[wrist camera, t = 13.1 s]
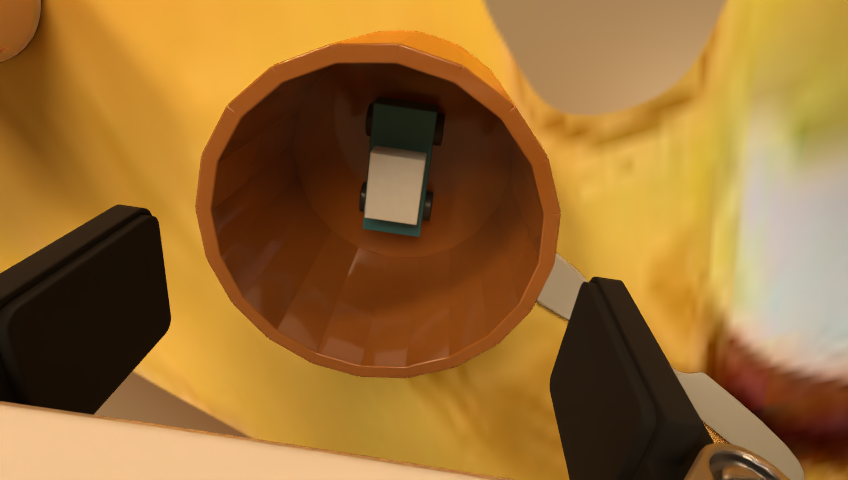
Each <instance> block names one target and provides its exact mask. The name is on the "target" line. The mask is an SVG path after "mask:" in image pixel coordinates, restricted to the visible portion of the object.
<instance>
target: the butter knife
mask: <svg viewBox="0 0 848 480" xmlns="http://www.w3.org/2000/svg"><path fill="white" fill-rule="evenodd" d="M583 282H588V281H587V280H586V279H585V278H584V276H583V275H582V274H581V273H580V272H579V271H578V270H577V269H576V268H575V267H573V266H572V265H571V264H570V263H568V262H567V261H566V260H565V259H564V258H562V257H561V256H560V255H559V254H558V253H556V256H555V264H554V267H553V269H552V271H551V273H550V275H549V277H548V279H547V281H546V283H545V285H544V287H543V289H542V291H541V293H540V295H539V297H538V299H537V301H538V302H539V303H540V304H541V305H543V306H545V307H546V308H548V309H550V310H551V311H553V312H555V313H557V314H558V315H560V316H562V317H563V318H565V319H567V320H569V319H570V316H571V313H572V310H573V307H574V304H575V301H576V298H577V295H578V292H579V289H580V287H581V284H582V283H583ZM670 366H671V365H670ZM671 367H672V366H671ZM672 369H673V371H674V373H675V374H676V376H677V378H678V380H679V381H680V383H681V385H682V387H683V388H684V390H685V392H686V394H687V395H688V397H689V399H690V401H691V402H692V404H693V406H694V408H695V409H696V411H697V413H698V415H699V416H700V418H701V420H702V421H704V422H705V423H706V424H707V425H709V426H710V427H711V428H712V429H713V430H715V431H716V432H717V433H718V434H720V435H721V436H722V437H723V438H724V439H726V440H727V441H728V442H729V443H731V444H733V445H736V446H739V447H742V448H745V449H747V450H749V451H751V452H753V453H755V454H757V455H759V456H761V457H763V458H764V459H766V460H767V461H768V462H770V463H771V464H773V465H774V466H776V467H777V468H778V469H779V470H780V471H781V472H782V473H783V474H784V475H786V476H787V477H788V478H789V479H790V480H805V477H804V471H803V469H802V467H801V465H800V463H799V461H798V460H797V458H796V457H795V456H794V455H793V453H792V452H791V451H790V450H789V448H788V447H787V446H786V445H785V444H784V443H783V442H782V441H781V440H780V439H779V438H778V437H777V436H776V435H775V434H774V433H773V432H772V431H771V430H770V429H769V428H768V427H767V426H766V425H765V424H764V423H763V422H762V421H761V420H760V419H758V418H757V417H756V416H755V415H754V414H753V413H751V412H750V411H749V410H748V409H747V408H746V407H745V406H743V405H742V404H741V403H740V402H739V401H738V400H737V399H735V398H734V397H733V396H732V395H731V394H729V393H728V392H727V391H726V390H724V389H723V388H722V387H721V386H720V385H718V384H717V383H716V382H715V381H714V380H712V379H711V378H710V377H709V376H707V375H706V374H705V373H701V372H698V373H692V374H688V373H683V372H680V371H678V370H676V369H675V368H673V367H672Z"/></svg>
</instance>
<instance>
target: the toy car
mask: <svg viewBox="0 0 848 480" xmlns="http://www.w3.org/2000/svg"><path fill="white" fill-rule="evenodd" d="M445 116H446V115H445V114H444V113H438V105H434V104H427V103H420V102H414V101H407V100H400V99H393V98H386V97H378V98H377V100H376V101H375V102H374V103H370V104H369V106H368V109H367V115H366V124H365V132H366V135H367V136H370V148H369V159H368V171H367V182H363V184H362V187H361V192H360V198H359V210H360V211H361V212H364V217H363V229H367V230H374V231H381V232H388V233H395V234H402V235H409V236H416V237H419V236H420V232H421V225H422V221H430V216H431V210H432V203H433V195H434V193H433V192H431V191H426V190H427V183H428V176H429V169H430V163H431V156H432V149H433V145H434V146H441V143H442V137H443V131H444V124H445Z"/></svg>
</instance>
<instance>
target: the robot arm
mask: <svg viewBox="0 0 848 480" xmlns="http://www.w3.org/2000/svg"><path fill="white" fill-rule="evenodd" d="M170 322H171V313H170V306H169V298H168V290H167V282H166V275H165V267H164V259H163V251H162V244H161V236H160V228H159V222H158V220H157V218H156V217H154V216H152V214H151V213H150V211H149V210H148V209H145V208H139V207H132V206H126V205H116V206H113V207H112V208H110V209H108V210H107V211H105V212H103V213H102V214H100V215H98V216H97V217H95V218H93V219H92V220H90V221H88V222H86V223H85V224H83V225H81V226H80V227H78V228H76V229H75V230H73V231H71V232H70V233H68V234H66V235H65V236H63V237H61V238H59V239H58V240H56V241H54V242H53V243H51V244H49V245H48V246H46V247H44V248H43V249H41V250H39V251H38V252H36V253H34V254H32V255H31V256H29V257H27V258H26V259H24V260H22V261H21V262H19V263H17V264H16V265H14V266H12V267H11V268H9V269H7V270H5V271H4V272H2V273H0V480H513V479H507V478H501V477H495V476H489V475H482V474H476V473H470V472H463V471H457V470H451V469H445V468H438V467H432V466H426V465H419V464H413V463H407V462H401V461H394V460H388V459H382V458H375V457H369V456H363V455H356V454H350V453H344V452H337V451H331V450H324V449H318V448H311V447H305V446H298V445H292V444H285V443H279V442H272V441H266V440H259V439H252V438H246V437H239V436H232V435H226V434H219V433H213V432H206V431H200V430H193V429H186V428H180V427H173V426H166V425H159V424H153V423H146V422H139V421H132V420H125V419H119V418H112V417H105V416H98V415H94V413H95V412H96V411H97V410H98V409H99V408H100V407H101V406H102V404H103V403H104V402H105V401H106V400H107V399H108V398H109V397H110V396H111V394H112V393H113V392H114V391H115V390H116V389H117V388H118V387H119V385H120V384H121V383H122V382H123V381H124V380H125V379H126V378H127V376H128V375H129V374H130V373H131V372H132V371H133V370H134V369H135V367H136V366H137V365H138V364H139V363H140V362H141V361H142V360H143V358H144V357H145V356H146V355H147V354H148V353H149V352H150V351H151V349H152V348H153V347H154V346H155V345H156V344H157V343H158V342H159V340H160V339H161V338H162V337H163V336H164V335H165V334H166V332H167V331H168V329H169V326H170ZM550 393H551V398H552V402H553V407H554V411H555V416H556V420H557V425H558V429H559V434H560V438H561V442H562V447H563V451H564V456H565V460H566V465H567V469H568V474H569V478H570V480H790V479H789V478H788V477H787V476H786V475H784V474H783V473H782V472H781V471H780V470H779V469H778V468H777V467H776V466H774V465H773V464H771V463H770V462H768V461H767V460H766V459H764V458H763V457H761V456H759V455H757V454H755V453H753V452H751V451H749V450H747V449H745V448H742V447H739V446H736V445H733V444H728V443H714V442H713V440H712V438H711V436H710V435H709V433H708V431H707V429H706V428H705V425H704V424H703V422H702V420H701V418H700V416H699V415H698V413H697V411H696V409H695V408H694V406H693V404H692V402H691V401H690V399H689V397H688V395H687V394H686V392H685V390H684V388H683V387H682V385H681V383H680V381H679V380H678V378H677V376H676V374H675V373H674V371H673V369H672V367H671V366H670V364H669V362H668V360H667V359H666V357H665V355H664V353H663V352H662V350H661V348H660V346H659V345H658V343H657V341H656V339H655V338H654V336H653V334H652V332H651V331H650V329H649V327H648V325H647V324H646V322H645V320H644V318H643V316H642V315H641V313H640V311H639V309H638V308H637V306H636V304H635V302H634V301H633V299H632V297H631V295H630V294H629V292H628V290H627V288H626V287H625V285H624V283H623V282H622V281H620V280H614V279H608V278H601V277H593V278H592V279H591V281H590V282H583V283H582V284H581V287H580V289H579V292H578V295H577V298H576V301H575V304H574V307H573V310H572V313H571V316H570V319H569V322H568V325H567V328H566V331H565V334H564V337H563V340H562V343H561V346H560V350H559V353H558V356H557V359H556V362H555V365H554V368H553V371H552V374H551V378H550Z"/></svg>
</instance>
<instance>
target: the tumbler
mask: <svg viewBox="0 0 848 480" xmlns="http://www.w3.org/2000/svg"><path fill="white" fill-rule="evenodd" d="M378 97H386V98H393V99H400V100H407V101H414V102H420V103H427V104H434V105H438V113H444V114H445V115H446V116H445V124H444V131H443V137H442V143H441V146H434V145H433V149H432V156H431V163H430V169H429V176H428V183H427V190H426V191H431V192H433V193H434V195H433V203H432V210H431V216H430V221H422V225H421V232H420V236H419V237H416V236H409V235H402V234H395V233H388V232H381V231H374V230H367V229H363V217H364V212H361V211H360V210H359V198H360V192H361V187H362V184H363V182H367V171H368V159H369V148H370V136H367V135H366V132H365V124H366V115H367V109H368V106H369V104H370V103H374V102H375V101H376V100H377V98H378ZM195 207H196V214H197V218H198V223H199V227H200V232H201V236H202V240H203V245H204V249H205V254H206V258H208V259H207V260H208V262H209V264H210V266H211V267H212V269H213V271H214V272H215V274H216V276H217V278H218V279H219V281H220V283H221V285H222V286H223V288H224V290H225V292H226V293H227V295H228V297H229V298H230V300H231V302H233V304H234V305H235V306H236V307H237V308H238V309H239V310H240V311H241V312H242V313H243V314H244V315H245V316H246V317H247V318H248V319H249V320H250V321H251V322H252V323H253V324H254V325H255V326H256V327H257V328H258V329H259V330H260V331H261V332H262V333H263V334H264V335H265V336H266V337H269V339H270V340H272V341H274V342H276V343H277V344H279V345H281V346H283V347H284V348H286V349H288V350H290V351H291V352H293V353H295V354H297V355H298V356H300V357H302V358H304V359H305V360H307V361H309V362H312V363H313V364H316V365H320V366H324V367H327V368H331V369H334V370H338V371H341V372H345V373H348V374H352V375H355V376H360V377H389V378H407V377H408V378H410V377H414V376H419V375H423V374H428V373H432V372H437V371H441V370H446V369H450V368H454V366H455V367H457V366H458V365H460V364H462V363H464V362H466V361H468V360H470V359H472V358H473V357H475V356H477V355H479V354H481V353H483V352H485V351H487V350H488V349H490V348H492V347H494V346H496V345H497V344H499V343H500V342H501V341H502V340H503V339H504V338H505V337H506V336H507V335H508V334H509V333H510V332H511V331H512V330H513V329H514V328H515V327H516V326H517V325H518V324H519V323H520V322H521V321H522V320H523V319H524V318H525V317H526V316H527V315H528V314H529V313H530V312H531V310H532V309H533V307H534V305H535V303H536V301H537V299H538V297H539V295H540V293H541V291H542V289H543V287H544V285H545V283H546V281H547V279H548V277H549V275H550V273H551V271H552V269H553V267H554V264H555V256H556V248H557V240H558V232H559V224H560V216H561V214H560V207H559V202H558V198H557V194H556V189H555V185H554V180H553V176H552V172H551V167H550V163H549V159H548V158H547V155H546V153H545V152H544V150H543V148H542V147H541V145H540V144H539V142H538V141H537V139H536V138H535V136H534V134H533V133H532V131H531V130H530V128H529V127H528V125H527V124H526V122H525V120H524V119H523V117H522V116H521V114H520V113H519V111H518V109H517V108H516V106H515V105H514V103H513V102H512V100H511V99H510V97H509V96H508V94H507V93H506V91H505V90H504V88H503V87H502V85H501V84H500V82H499V81H498V79H497V78H496V76H495V75H494V73H493V72H492V71H491V70H490V69H489V68H487V67H486V66H485V65H484V64H482V63H481V62H480V61H479V60H478V59H477V58H475V57H474V56H473V55H471V54H470V53H469V52H467V51H466V50H465V49H463V48H462V47H461V46H459V45H457V44H454V43H452V42H449V41H447V40H444V39H441V38H439V37H436V36H433V35H429V34H426V33H423V32H418V31H378V32H374V33H370V34H366V35H362V36H359V37H355V38H351V39H347V40H343V41H340V42H336V43H332V44H329V45H326V46H323V47H321V48H318V49H315V50H313V51H310V52H307V53H304V54H302V55H299V56H296V57H294V58H291V59H288V60H285V61H283V62H280V63H277V64H275V65H273V66H272V67H270V68H269V69H268V70H266V71H265V72H264V73H263V74H262V75H261V76H260V77H258V78H257V79H256V80H255V81H254V82H253V83H252V84H250V85H249V86H248V87H247V88H246V89H245V90H244V91H242V92H241V93H240V94H239V95H238V96H237V97H236V98H234V99H233V100H232V101H231V102H230V103H229V104H228V106H226V108H225V110H224V112H223V114H222V116H221V118H220V120H219V122H218V124H217V126H216V127H215V129H214V131H213V133H212V135H211V137H210V139H209V141H208V143H207V145H206V147H205V149H204V151H203V152H202V156H201V163H200V172H199V180H198V189H197V197H196V206H195Z"/></svg>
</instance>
